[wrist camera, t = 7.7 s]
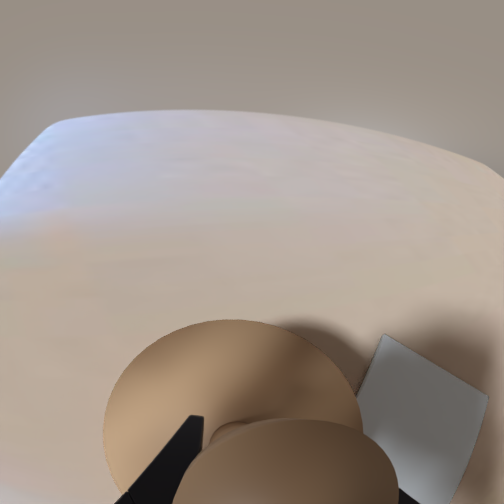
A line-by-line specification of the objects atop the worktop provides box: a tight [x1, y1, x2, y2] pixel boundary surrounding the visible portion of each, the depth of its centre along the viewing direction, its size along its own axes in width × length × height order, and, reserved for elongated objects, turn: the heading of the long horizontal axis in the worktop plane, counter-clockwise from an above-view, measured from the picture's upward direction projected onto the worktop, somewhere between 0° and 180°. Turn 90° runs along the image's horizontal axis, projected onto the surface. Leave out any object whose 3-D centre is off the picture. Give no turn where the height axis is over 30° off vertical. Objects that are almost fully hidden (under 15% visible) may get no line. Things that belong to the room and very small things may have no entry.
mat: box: [356, 334, 489, 504], centre depth 17 cm, size 16×16×1 cm
